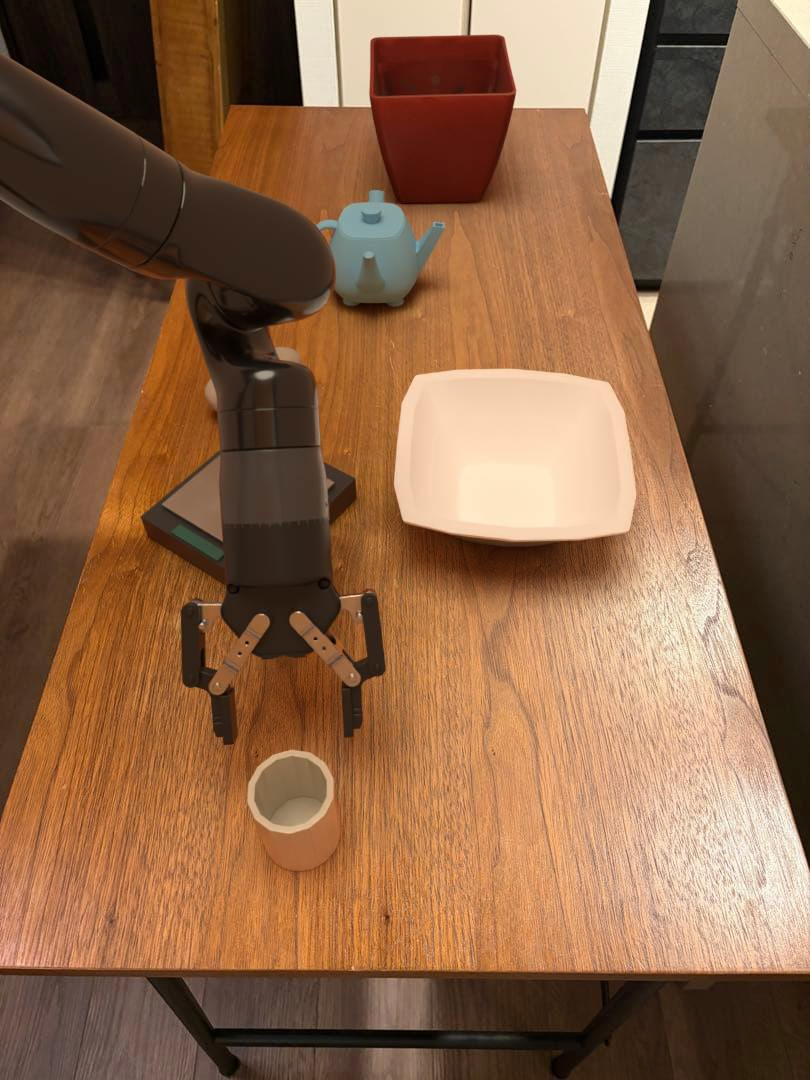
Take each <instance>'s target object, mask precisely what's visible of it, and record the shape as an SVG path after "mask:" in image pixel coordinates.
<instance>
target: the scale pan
mask: <svg viewBox="0 0 810 1080" xmlns="http://www.w3.org/2000/svg"><path fill="white" fill-rule="evenodd" d="M219 473H220V455H219V456H218V457H217V458H216V459H214V460H213V461H212V462H211V463H210V464H209V465H207V466H206V467H205V468H204V469H203V470H201V471H200V472H199V473H198V474H197V475H196V476H194V477H193V478H192V479H191V480H190V481H188V482H187V483H186V484H185V485H184V486H182V487H181V488H180V489H179V490H178V491H177V492H175V493H174V494H173V495H172V496H171V497H169V498H168V499H167V500H166V501H165V502H164V503H162V508H163V509H165V510H167V511H168V512H170V513H172V514H173V515H175V516H177V517H178V518H180V519H181V520H183V521H185V522H186V523H188V524H190V525H191V526H193V527H195V528H196V529H198V530H200V531H201V532H203V533H205V534H206V535H208V536H210V537H211V538H213V539H214V540H216V541H218V542H219V543H221V544H223V537H222V524H221V510H220V496H219ZM327 486H328V492H330V491H331V490H332V489H333V488H334V487H335V482H334V481H332V480H330V479H328V478H327Z"/></svg>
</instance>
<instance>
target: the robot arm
mask: <svg viewBox="0 0 810 1080" xmlns="http://www.w3.org/2000/svg"><path fill="white" fill-rule="evenodd" d="M0 200H1V202H3V203H5V204H7V205H8V206H10V207H11V208H12V209H13V210H16V211H17V212H19V213H21V214H22V215H24V216H25V217H27V218H29V219H30V220H32V221H33V222H35V223H37V224H39V225H41V226H42V227H44V228H46V229H47V230H49V231H50V232H53V234H56V235H58V236H60V237H62V238H64V239H66V240H68V241H70V242H71V243H74V244H76V245H78V246H79V247H82V248H84V249H87V250H88V251H90V252H93V253H95V254H97V255H99V256H101V257H103V258H105V259H107V260H109V261H112V262H113V263H116V264H118V265H121V266H122V267H124V268H126V269H128V270H130V271H132V272H135V273H137V274H140V275H142V276H145V277H148V278H152V279H157V280H164V281H165V280H167V281H168V280H184V294H185V301H186V306H187V310H188V313H189V316H190V319H191V320H190V321H191V323H192V326H193V329H194V332H195V335H196V338H197V341H198V345H199V347H200V350H201V353H202V357H203V360H204V364H205V366H206V369H207V372H208V374H209V377H210V379H211V380H212V382H213V385H214V388H215V392H216V397H217V412H216V418H217V430H218V431H217V433H218V444H219V450H220V451H223V452H221V453H220V473H219V496H220V510H221V524H222V537H223V550H224V564H225V578H226V585H225V595H224V598H223V601H204V600H203V599H201V598H200V597H193V598H191V599H190V600H189V601H188V602H187V603H185V604H184V605H183V606H182V607H181V610H180V637H181V638H180V639H181V640H180V641H181V646H180V647H181V681H182V684H183V685H184V686H185V687H186V688H190V689H193V688H197V689H200V690H203V691H206V693H208V695H209V697H210V705H211V716H212V719H211V720H212V730H213V733H214V735H215V737H216V738H222V743H223V746H231V745H235V743H236V742H237V740H238V734H239V733H238V720H237V718H238V717H237V705H236V704H237V703H236V693H235V692H236V691H235V690H236V689H235V686H232V681H233V679H234V678H235V677H236V675H237V674H238V672H239V671H240V670H241V668H242V667H243V665H244V664H245V662H246V661H247V659H248V658H249V656H250V655H251V654H252V655H254V656H256V657H258V658H261V661H262V660H263V661H264V660H265V661H266V660H275V659H277V658H280V657H283V656H284V657H289V658H293V659H297V658H299V659H300V658H306V657H307V655H310V654H312V653H313V652H315V653H316V654H317V656H319V658H320V659H321V660H322V661H323V662H324V663H325V664H326V666H328V667H330V668H331V669H332V670H333V671H334V672H335V674H336V675H337V676H338V677H339V678H340V680H341V687H340V692H341V709H342V727H343V737H344V739H349V738H350V739H351V738H355V730H361V728H362V725H363V723H364V710H363V695H362V686H363V684H364V683H365V682H367V680H370V679H372V678H374V677H381V676H383V675H385V672H386V670H387V668H386V657H385V648H384V640H383V629H382V623H381V622H382V621H381V613H380V605H379V597H378V592H377V591H376V590H375V589H373V588H369V587H368V588H366V589H364V590H362V592H356V593H354V592H353V593H346V594H339V592H338V590H337V589H336V586H335V583H334V582H335V581H334V570H333V555H332V553H333V552H332V537H331V525H330V521H329V508H330V498H329V495H328V486H327V477H326V471H325V466H324V462H325V461H324V457H323V448H322V447H321V446H322V435H321V434H322V433H321V419H320V418H321V417H320V409H319V408H320V400H319V390H318V383H317V380H316V377H315V374H314V372H313V370H311V368H309V367H308V366H307V365H305V364H304V363H303V364H302V363H301V364H299V363H296V362H292V361H285V360H280V359H279V357H278V355H277V352H276V350H275V348H276V346H275V344H274V341H273V339H272V335H271V332H270V327H275V326H280V325H285V324H290V323H296V322H301V321H303V320H305V319H308V318H311V317H312V316H314V315H316V314H317V313H318V312H320V311H321V310H322V309H323V308H324V307H326V305H327V304H328V302H329V300H330V298H332V295H333V292H334V291H335V290H334V287H335V282H336V266H335V260H334V256H333V253H332V251H331V248H330V246H329V244H330V243H329V242H328V241H327V239H326V237H325V236H324V235H323V233H322V231H321V232H320V230H319V229H318V228H317V227H316V225H315V224H314V223H313V222H312V220H310V219H309V218H308V217H307V216H306V215H305V214H303V213H302V212H300V211H299V210H297V209H296V208H294V207H293V206H291V205H289V204H286V203H285V202H283V201H280V200H278V199H276V198H274V197H271V196H268V195H266V194H263V193H261V192H258V191H255V190H252V189H250V188H246V187H244V186H241V185H239V184H236V183H233V182H231V181H227V180H224V179H221V178H217V177H214V176H210V175H206V174H204V173H201V172H198V171H195V170H193V169H191V168H189V167H188V166H187V165H186V164H184V163H182V162H181V161H179V160H178V159H176V158H175V157H173V156H172V155H170V154H169V153H167V152H166V151H164V150H162V149H161V148H159V147H158V146H156V145H154V144H153V143H152V142H150V141H148V140H147V139H145V138H143V137H142V136H140V135H139V134H137V133H136V132H134V131H132V130H131V129H129V128H127V127H126V126H124V125H122V124H121V123H119V122H118V121H116V120H114V119H113V118H111V117H109V116H108V115H106V114H104V113H103V112H102V111H99V110H98V109H96V108H95V107H93V106H91V105H90V104H88V103H86V102H84V101H83V100H81V99H79V98H78V97H76V96H74V95H73V94H71V93H69V92H68V91H66V90H64V89H63V88H61V87H60V86H58V85H56V84H54V83H52V82H50V81H49V80H47V79H46V78H44V77H42V76H40V75H39V74H37V73H35V72H33V71H32V70H31V69H29V68H27V67H25V66H24V65H22V64H20V63H19V62H17V61H15V60H14V59H12V58H10V57H9V56H7V55H5V54H4V53H2V52H0ZM341 610H344V611H347V613H349V614H350V617H351V620H352V621H353V622H354V623H355V624H362V625H363V634H364V641H365V651H366V657H364V658H361V659H359V660H356V659H355V658H354V657H353V656H352V655H351V654H350V652H349V651H348V650H347V649H346V648H345V646H344V645H343V643H342V641H340V639H339V638H338V637H337V636H336V635H335V634H334V632H333V631H332V630H331V628H332V626H333V625H334V623H335V621H336V619H337V618H338V617H339V615H340V613H341ZM217 618H221V620H223V622H224V623H225V624H226V625H227V627H228V628H229V629H230V630H231V632H233V634H234V635H235V636H236V637H237V638H238V640H237V641H236V643H235V645H234V646H233V647H232V649H231V650H230V652H229V653H228V655H227V656H226V658H225V659H224V661H223V662H222V664H221V665H220V667H218V669H215V668H212V667H208V666H207V655H206V654H207V650H206V649H207V648H206V641H207V640H206V633H209V632H210V631H211V630H212V628H213V627H214V625H215V621H216V619H217Z"/></svg>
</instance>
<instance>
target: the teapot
mask: <svg viewBox="0 0 810 1080" xmlns="http://www.w3.org/2000/svg"><path fill="white" fill-rule="evenodd" d="M385 195H386V193H385V191H383V190H380V189H371V190H369V191H368V201H366V202H365V201H364V202H353V203H351V204H349V205H347V206H346V207H344V209H343V210H342V211H341V212H340V215H339V218H338V219H337V220H336V219H324V220H321V221H320V222H318V223H317V224H316V225H315V226H316V227H317V228H318V229H319V230H320V232H321V233H322V231H324V230H329V229H330V230H331V229H332V230H333V231H332V234H331V236H330V240H329V243H328V244H329V246H330V248H331V251H332V253H333V256H334V260H335V266H336V282H335V287H334V290H333V291H335V293H337V295H339V296H340V298H342V302H343V304H344V305H346V306H348V307H354V306H355V307H356V306H358V305H359V304H360V303H363V304H383V303H384V304H385V303H386V305H388V306H389V307H399V306H402V305H403V304H404V298H405V297H406V296H408V294H409V293H410V292H411V290H412V289H413V288H414V285H415V283H416V282H417V279H418V277H419V274H420V272H422V271H423V269H424V267H425V266H426V264H427V262H428V260H429V259H430V257H431V255H432V253H433V251H434V250H435V247H436V246H437V244H438V242H439V240H440V238H441V237H442V235H443V233H444V231H445V227H446V226H445V225H446V223H445V222H441V221H440V222H439V221H433V222H432V223H431V226H430V227H429V228H428V229H427V230H426V231H425V232H424V233H423V235H422V236H421V237H420V239H419V240H416V237H415V234H414V231H413V230H412V227H411V225H410V223H409V221H408V218H407V217H406V215H405V213H404V211H403V210H402V208H401V207H400V206H398V205H397V204H395V203H390V202H385V200H386V199H385V198H386V197H385Z"/></svg>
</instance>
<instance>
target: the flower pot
mask: <svg viewBox="0 0 810 1080" xmlns="http://www.w3.org/2000/svg"><path fill="white" fill-rule="evenodd" d="M368 91H369V92H368V95H369V96H368V97H369V104H370V109H371V115H372V120H373V125H374V130H375V134H376V135H375V136H376V138H377V144H378V147H379V148H378V149H379V151H380V155H381V158H382V162H383V166H384V169H385V172H386V175H387V178H388V180H389V185H390V187H391V190H392V192H393V195H394V197H395V199H396V201H397V202H398V203H400V204H421V203H422V204H424V203H427V204H428V203H465V202H466V203H467V202H481V201H482V200H483V199H484V197H485V196H486V194H487V191H488V190H489V187H490V185H491V182H492V180H493V176H494V175H495V171H496V169H497V166H498V164H499V160H500V157H501V155H502V151H503V149H504V145H505V142H506V139H507V135H508V131H509V127H510V124H511V118H512V115H513V111H514V110H513V109H514V105H515V101H516V96H517V87H516V83H515V80H514V76H513V71H512V67H511V62H510V57H509V52H508V48H507V43H506V38H505V37H504V36H503V35H500V34H461V35H457V34H456V35H416V36H415V35H412V36H410V35H409V36H376V37H373V38H371V39H370V41H369V89H368Z"/></svg>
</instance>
